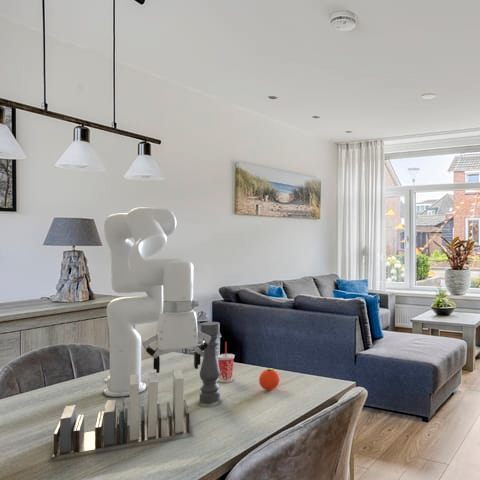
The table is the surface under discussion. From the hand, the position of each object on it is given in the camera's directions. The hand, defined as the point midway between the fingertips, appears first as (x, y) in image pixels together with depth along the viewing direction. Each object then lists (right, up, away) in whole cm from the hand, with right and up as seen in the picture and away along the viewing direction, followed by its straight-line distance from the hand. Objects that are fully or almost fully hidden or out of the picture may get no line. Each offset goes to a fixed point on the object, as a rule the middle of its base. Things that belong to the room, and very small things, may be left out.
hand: (177, 369), depth 122 cm
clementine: (+19, -16, +33) cm, 41 cm away
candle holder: (+2, -16, +20) cm, 26 cm away
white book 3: (0, -15, -1) cm, 15 cm away
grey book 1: (-22, -15, -11) cm, 29 cm away
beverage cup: (+1, -16, +42) cm, 45 cm away
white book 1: (-9, -15, -5) cm, 18 cm away
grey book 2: (-14, -15, -7) cm, 22 cm away
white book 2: (-6, -15, -3) cm, 16 cm away
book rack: (-10, -16, -6) cm, 20 cm away
